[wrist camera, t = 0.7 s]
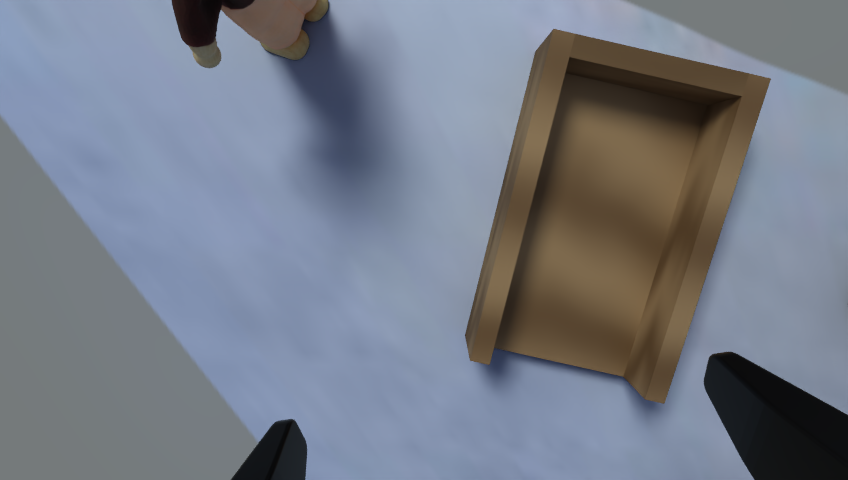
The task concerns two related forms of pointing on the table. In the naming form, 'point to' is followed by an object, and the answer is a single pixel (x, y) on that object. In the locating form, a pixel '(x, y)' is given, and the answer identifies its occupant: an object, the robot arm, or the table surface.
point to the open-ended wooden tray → (611, 208)
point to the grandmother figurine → (247, 24)
